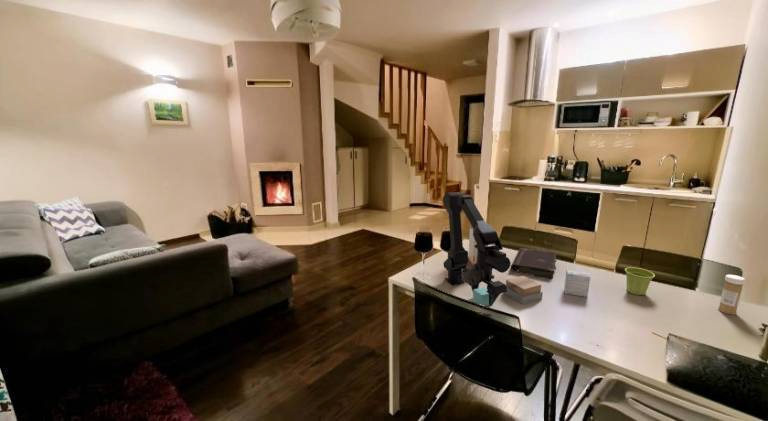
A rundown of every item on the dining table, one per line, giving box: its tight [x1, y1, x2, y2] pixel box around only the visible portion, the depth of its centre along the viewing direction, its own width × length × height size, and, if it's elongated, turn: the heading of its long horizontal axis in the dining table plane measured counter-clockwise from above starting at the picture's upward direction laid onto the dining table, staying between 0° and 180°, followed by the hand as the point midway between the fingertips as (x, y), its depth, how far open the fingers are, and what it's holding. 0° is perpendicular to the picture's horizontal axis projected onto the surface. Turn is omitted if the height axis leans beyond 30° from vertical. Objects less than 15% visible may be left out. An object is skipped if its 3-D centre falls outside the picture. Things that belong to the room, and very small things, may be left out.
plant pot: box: [624, 267, 656, 296], centre depth 127 cm, size 9×9×9 cm
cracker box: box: [468, 222, 489, 267], centre depth 156 cm, size 14×6×21 cm, turn 179°
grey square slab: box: [504, 288, 544, 305], centre depth 127 cm, size 10×10×4 cm
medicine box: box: [563, 269, 591, 298], centre depth 127 cm, size 8×4×9 cm, turn 65°
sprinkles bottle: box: [717, 274, 746, 316], centre depth 112 cm, size 5×5×13 cm
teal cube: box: [472, 286, 489, 307], centre depth 122 cm, size 5×5×5 cm
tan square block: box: [505, 275, 542, 296], centre depth 126 cm, size 9×9×3 cm
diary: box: [510, 247, 557, 280], centre depth 155 cm, size 19×25×5 cm
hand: (482, 300), depth 122 cm, fingers open, 9 cm apart
